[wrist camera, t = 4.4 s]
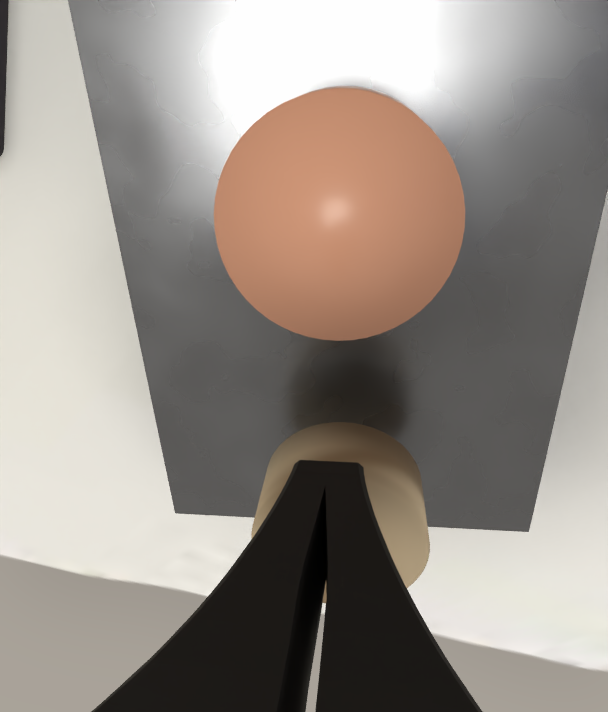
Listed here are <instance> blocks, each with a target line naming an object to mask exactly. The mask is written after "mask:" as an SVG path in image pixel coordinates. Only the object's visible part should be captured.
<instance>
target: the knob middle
mask: <svg viewBox="0 0 608 712" xmlns="http://www.w3.org/2000/svg"><path fill="white" fill-rule="evenodd" d="M214 228H215V235H216V241H217V246H218V249H219V252H220V255H221V259H222V261H223V264H224V266H225V268H226V270H227V272H228V274H229V276H230V278H231V279H232V281H233V283H234V284H235V286H236V288H237V289H238V290H239V291H240V293H241V294H242V295H243V296H244V298H245V299H246V300H247V301H248V302H249V303H250V304H251V305H252V306H253V307H254V308H255V309H256V310H257V311H259V312H260V313H261V314H263V315H264V316H265V317H266V318H268V319H269V320H271V321H273V322H274V323H276V324H278V325H279V326H281V327H283V328H285V329H288V330H290V331H292V332H294V333H297V334H301V335H304V336H307V337H311V338H316V339H322V340H334V341H343V340H356V339H362V338H367V337H371V336H374V335H378V334H381V333H384V332H386V331H388V330H391V329H393V328H395V327H397V326H399V325H401V324H402V323H404V322H406V321H408V320H409V319H410V318H412V317H413V316H414V315H416V314H417V313H418V312H420V311H421V310H422V309H423V308H424V307H425V306H426V305H427V304H428V303H429V302H430V301H431V300H432V299H433V298H434V297H435V296H436V294H437V293H438V292H439V291H440V290H441V288H442V287H443V285H444V284H445V282H446V280H447V279H448V277H449V276H450V274H451V272H452V269H453V267H454V265H455V263H456V261H457V258H458V255H459V252H460V248H461V245H462V240H463V234H464V229H465V203H464V193H463V189H462V185H461V181H460V177H459V174H458V172H457V169H456V166H455V164H454V161H453V159H452V158H451V156H450V154H449V152H448V151H447V149H446V147H445V145H444V144H443V143H442V141H441V140H440V139H439V137H438V136H437V135H436V134H435V132H434V131H433V130H432V129H431V128H430V127H429V126H428V125H427V124H426V123H425V122H424V121H423V120H422V119H421V118H419V117H418V116H417V115H416V114H415V113H414V112H413V111H412V110H411V109H410V108H408V107H407V106H405V105H404V104H403V103H401V102H400V101H398V100H396V99H395V98H393V97H391V96H389V95H387V94H385V93H382V92H379V91H376V90H373V89H369V88H364V87H358V86H334V87H326V88H322V89H318V90H314V91H311V92H308V93H306V94H303V95H301V96H298V97H296V98H293V99H291V100H289V101H286V102H284V103H282V104H280V105H279V106H277V107H275V108H274V109H272V110H270V111H269V112H267V113H266V114H265V115H263V116H262V117H261V118H260V119H259V120H257V121H256V122H255V123H254V124H253V125H252V126H251V127H250V128H249V129H248V130H247V131H246V132H245V133H244V134H243V136H242V137H241V138H240V139H239V141H238V142H237V144H236V145H235V147H234V148H233V150H232V151H231V153H230V155H229V157H228V159H227V161H226V163H225V165H224V167H223V170H222V173H221V176H220V178H219V181H218V186H217V191H216V195H215V204H214Z"/></svg>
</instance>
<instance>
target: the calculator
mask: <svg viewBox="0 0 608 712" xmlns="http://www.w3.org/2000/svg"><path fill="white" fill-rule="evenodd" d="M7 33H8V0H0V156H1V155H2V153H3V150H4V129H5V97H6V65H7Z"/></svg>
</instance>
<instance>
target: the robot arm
mask: <svg viewBox="0 0 608 712" xmlns="http://www.w3.org/2000/svg"><path fill="white" fill-rule="evenodd" d="M325 584H326V595H327V599H326V610H325V622H324V632H323V642H322V653H321V663H320V673H319V683H318V693H317V702H316V712H482V711H481V709H480V708H479V706H478V705H477V703H476V702H475V701H474V699H473V697H472V696H471V695H470V693H469V692H468V690H467V688H466V687H465V686H464V684H463V683H462V681H461V680H460V678H459V677H458V675H457V674H456V672H455V671H454V669H453V668H452V666H451V665H450V663H449V662H448V660H447V659H446V657H445V655H444V654H443V652H442V650H441V649H440V647H439V646H438V644H437V642H436V641H435V639H434V637H433V636H432V634H431V632H430V631H429V629H428V627H427V625H426V623H425V622H424V620H423V618H422V616H421V615H420V613H419V611H418V609H417V607H416V606H415V604H414V602H413V600H412V598H411V596H410V594H409V592H408V590H407V588H406V586H405V584H404V582H403V580H402V578H401V576H400V574H399V572H398V570H397V568H396V565H395V563H394V561H393V559H392V557H391V554H390V552H389V550H388V547H387V545H386V542H385V540H384V537H383V535H382V532H381V530H380V527H379V525H378V522H377V519H376V517H375V514H374V511H373V508H372V504H371V501H370V498H369V494H368V491H367V486H366V482H365V476H364V467H363V466H362V465H360V464H359V463H357V462H336V461H314V460H299V461H298V462H296V463H295V464H294V466H293V469H292V471H291V473H290V476H289V478H288V480H287V482H286V484H285V486H284V487H283V489H282V491H281V493H280V495H279V497H278V498H277V500H276V502H275V504H274V505H273V507H272V509H271V510H270V512H269V513H268V515H267V517H266V518H265V520H264V521H263V523H262V524H261V526H260V528H259V529H258V531H257V532H256V534H255V535H254V537H253V538H252V540H251V541H250V543H249V544H248V545H247V547H246V548H245V549H244V551H243V552H242V554H241V555H240V556H239V558H238V559H237V560H236V562H235V563H234V565H233V566H232V567H231V569H230V570H229V571H228V573H227V574H226V575H225V576H224V578H223V579H222V580H221V581H220V583H219V584H218V585H217V586H216V588H215V589H214V590H213V591H212V593H211V594H210V595H209V596H208V597H207V598H206V600H205V601H204V602H203V603H202V604H201V605H200V607H199V608H198V609H197V610H196V611H195V612H194V613H193V615H192V616H191V617H190V618H189V619H188V620H187V621H186V622H185V623H184V624H183V625H182V626H181V627H180V628H179V629H178V630H177V632H176V633H175V634H174V635H173V636H172V637H171V638H170V639H169V640H168V641H167V642H166V643H165V644H164V645H163V646H162V647H161V648H160V649H159V650H158V651H157V652H156V653H155V654H154V655H153V656H152V657H151V658H150V659H149V660H148V661H147V662H146V663H145V664H144V665H143V666H142V667H140V668H139V669H138V670H137V671H136V672H135V673H134V674H133V675H132V676H131V677H130V678H128V679H127V680H126V681H125V682H124V683H123V684H122V685H121V686H120V687H119V688H118V689H117V690H115V691H114V692H113V693H112V694H111V695H110V696H109V697H108V698H107V699H106V700H104V701H103V702H102V703H101V704H100V705H99V706H97V708H95V709H94V710H93V711H92V712H305V710H306V702H307V695H308V687H309V681H310V675H311V669H312V663H313V656H314V650H315V645H316V639H317V633H318V627H319V621H320V615H321V608H322V602H323V596H324V590H325Z"/></svg>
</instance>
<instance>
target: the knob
mask: <svg viewBox="0 0 608 712" xmlns="http://www.w3.org/2000/svg"><path fill="white" fill-rule="evenodd" d="M299 460H314V461H336V462H357V463H359V464H360V465H362V466H363V467H364V476H365V482H366V486H367V491H368V494H369V498H370V501H371V504H372V508H373V511H374V514H375V517H376V519H377V522H378V525H379V527H380V530H381V532H382V535H383V537H384V540H385V542H386V545H387V547H388V550H389V552H390V554H391V557H392V559H393V561H394V563H395V565H396V568H397V570H398V572H399V574H400V576H401V578H402V580H403V582H404V584H405V586H406V588H408V587H409V586H410V585H411V584H413V583H414V582H415V581H416V580H417V578H418V577H419V576H420V575H421V573H422V572H423V570H424V568H425V566H426V564H427V561H428V557H429V552H430V542H429V535H428V527H427V519H426V512H425V504H424V496H423V489H422V481H421V475H420V471H419V469H418V466H417V464H416V462H415V460H414V458H413V457H412V455H411V454H410V453H409V452H408V450H407V449H406V448H405V447H404V446H403V445H402V444H401V443H399V442H398V441H397V440H395V439H394V438H393V437H391V436H389V435H387V434H386V433H384V432H382V431H379V430H377V429H375V428H372V427H369V426H365V425H361V424H356V423H347V422H331V423H323V424H318V425H314V426H310V427H308V428H305V429H302V430H300V431H298V432H297V433H295V434H293V435H291V436H290V437H289V438H287V439H286V440H285V441H284V442H283V443H282V444H280V445H279V447H278V448H277V449H276V451H275V452H274V453H273V455H272V457H271V459H270V461H269V464H268V467H267V471H266V475H265V479H264V483H263V487H262V491H261V495H260V499H259V503H258V507H257V511H256V515H255V519H254V523H253V528H252V538H253V537H254V535H255V534H256V532H257V531H258V529H259V528H260V526H261V524H262V523H263V521H264V520H265V518H266V517H267V515H268V513H269V512H270V510H271V509H272V507H273V505H274V504H275V502H276V500H277V498H278V497H279V495H280V493H281V491H282V489H283V487H284V486H285V484H286V482H287V480H288V478H289V476H290V473H291V471H292V469H293V466H294V464H295V463H296V462H298V461H299ZM326 599H327V595H326V584H325V590H324V596H323V603H326Z"/></svg>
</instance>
